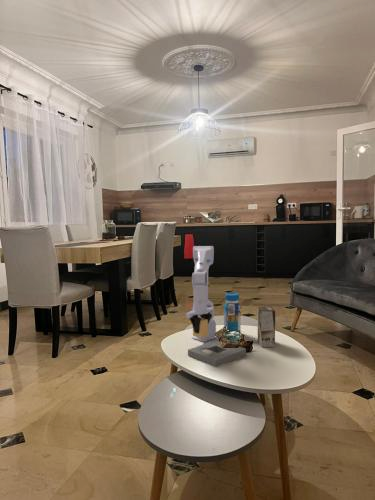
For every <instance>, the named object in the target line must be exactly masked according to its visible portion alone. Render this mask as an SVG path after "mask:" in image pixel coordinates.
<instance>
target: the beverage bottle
mask: <svg viewBox="0 0 375 500" xmlns="http://www.w3.org/2000/svg"><path fill="white" fill-rule="evenodd" d="M224 297H225V298H224V299H225V301H226V302H225V304H224V305H223V328H224V327H225V326H226V327H227V330H229V331H236V332H239V333H240V334H241V331H242V330H241V325H242V322H241V321H242V319H241V315H242V311H241V308H242V307H241V304H240V302H239V301H240V294H239V293H238V292H226V293H225V295H224Z"/></svg>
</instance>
